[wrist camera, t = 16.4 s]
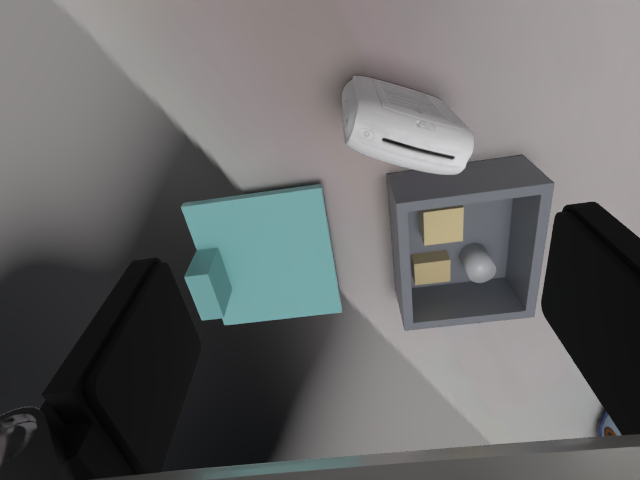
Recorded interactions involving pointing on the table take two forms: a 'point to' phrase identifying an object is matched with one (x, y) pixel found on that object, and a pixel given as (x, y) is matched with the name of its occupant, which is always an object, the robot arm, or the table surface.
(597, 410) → the table surface
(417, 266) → the tub
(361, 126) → the photo printer
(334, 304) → the lid
